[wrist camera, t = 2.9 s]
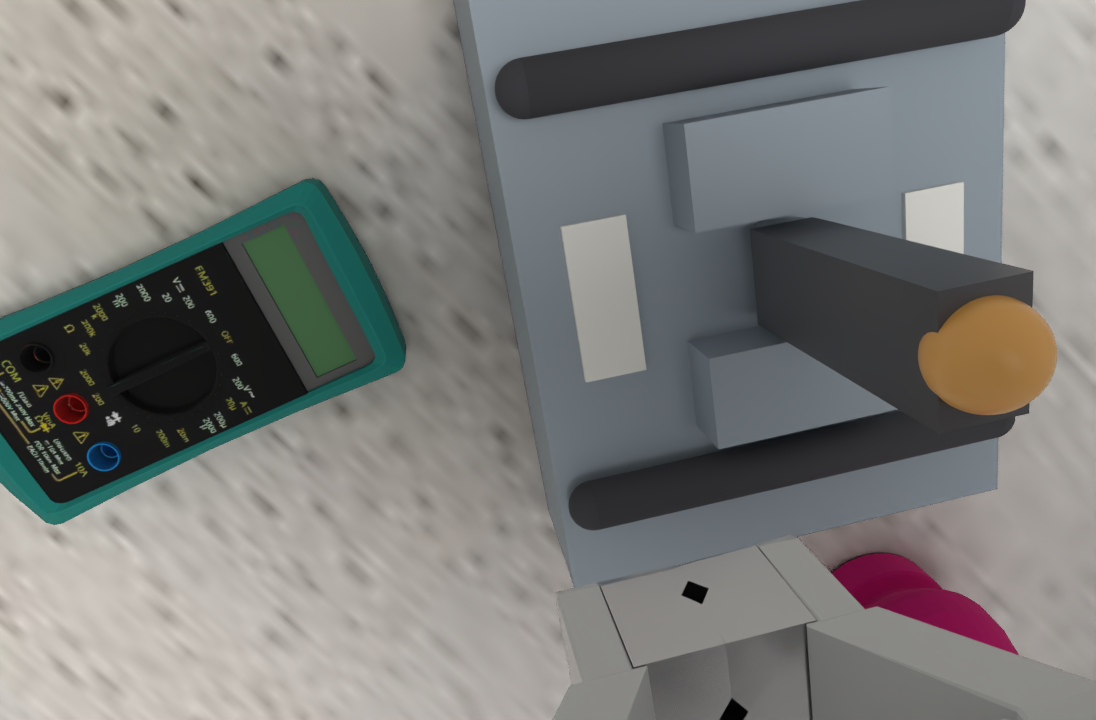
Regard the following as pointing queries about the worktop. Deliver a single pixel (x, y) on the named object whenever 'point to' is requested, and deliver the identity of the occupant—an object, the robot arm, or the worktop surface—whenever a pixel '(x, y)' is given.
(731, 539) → the box
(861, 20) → the dark parallel rails
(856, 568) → the pepper mill
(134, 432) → the digital multimeter
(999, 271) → the breaker lever
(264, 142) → the worktop surface
